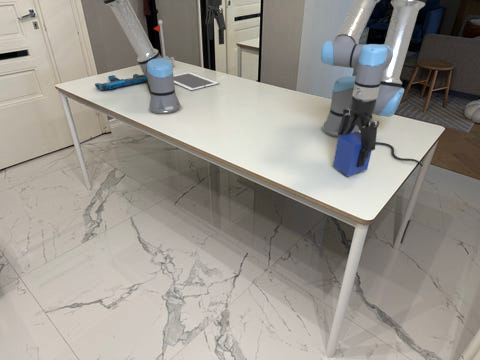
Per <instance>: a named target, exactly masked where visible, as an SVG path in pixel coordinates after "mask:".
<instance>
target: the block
mask: <svg viewBox="0 0 480 360" xmlns="http://www.w3.org/2000/svg"><path fill="white" fill-rule="evenodd" d="M361 149H362V142H361V133H360V131H359V132H354V133H350V134H347V135H343V136H339V137H337V142H336V146H335V151H334V152H335V154H334V159H333V165H332V167H333V168H335V169H336V170H337V171H339V172H340V173H342V174H344V175H345V176H346V177H351V176H353V175H357V174H359V173H362V172H365V171H367V170H368V168H369V164H370V159H371V155H372V151H369V152H368V156H367V159H365V162H364V166H361V167H356V166H357V161H358V157H359V152H360V150H361Z"/></svg>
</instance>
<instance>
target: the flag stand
mask: <svg viewBox="0 0 480 360" xmlns="http://www.w3.org/2000/svg"><path fill="white" fill-rule="evenodd" d="M157 23H158V25H157V26H155V27H154V28H153V30H155V31H157V32H159V33H160V39H161V40H160V41H161V48H162V56H163V57H162V59H167V60H169V61H170V62H171V63H172V67H174V64H175V61H176V60H175V57H173V56H170V57H169V56H167V55H166V47H165V39H164V31H163V24H164V23H163V20H162V19H158V21H157Z"/></svg>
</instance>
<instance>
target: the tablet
mask: <svg viewBox="0 0 480 360" xmlns="http://www.w3.org/2000/svg"><path fill="white" fill-rule="evenodd" d="M173 77H174V85H177V86H180V87H181V88H184V89H186V90H188V91H197V90H200V89H205V88H208V87H211V86H212V87H213V86H215V85H219V84H220V82H217V81H215V80H212V79H209V78H207V77H204V76H201V75H199V74H197V73H193V72H191V71H188V72H184V73H179V74H173Z"/></svg>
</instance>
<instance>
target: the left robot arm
mask: <svg viewBox="0 0 480 360" xmlns="http://www.w3.org/2000/svg"><path fill="white" fill-rule="evenodd" d="M102 1H103V3H104V5H105V6H108V7H110V9H111V10H112V12H113V14H114V16H115V18H116V20H117V21H118V23H119V25H120V26H121V29H122V30H123V32H124V34H125V35H126V37H127V39H128V41H129V42H130V44H131V46H132V48H133V50H134V52H135V54H136V55H137V59H136V61H137V63H138V65H139V67H140V68H141V72H142V73H143V75H145V76H146V77H147V78H148V80H147V81H146V82H145V83H146V84H147V87H148V91H149V93H150V101H149V111H150V112H151V113H153V114H157V115H169V114H173V113H176V112H178V111H179V110H181V102H180V100H179V98H178V96H177V94H176V87H175V83H174V77H173V76H174V68H173V67H174V66H173V67H172V63H171V62H170V61H169V60H167V59H162V58H163V57H162V56H161V53H160V52H159V50H158V49H157V48H154V47H153V45H152V43H151V41H150V39H149V37H148V34H147V32H146V31H145V29H144V27H143V26H142V23H141V22H140V20H139V17H138V16H137V14H136V12H135V10H134V7H133V5H132V4H131V2H130V0H102ZM206 5H207V6H206V17H205V25H206V27H207V39H208V41H211V40H214V25H213V23H214V20H215V22H216V24H217V28H218V29H217V33H218V34H217V35H218V45H225V30H227V26H226V22H225V17H224V9H223V8H221V7H220V6H222V5H223V0H206Z"/></svg>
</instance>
